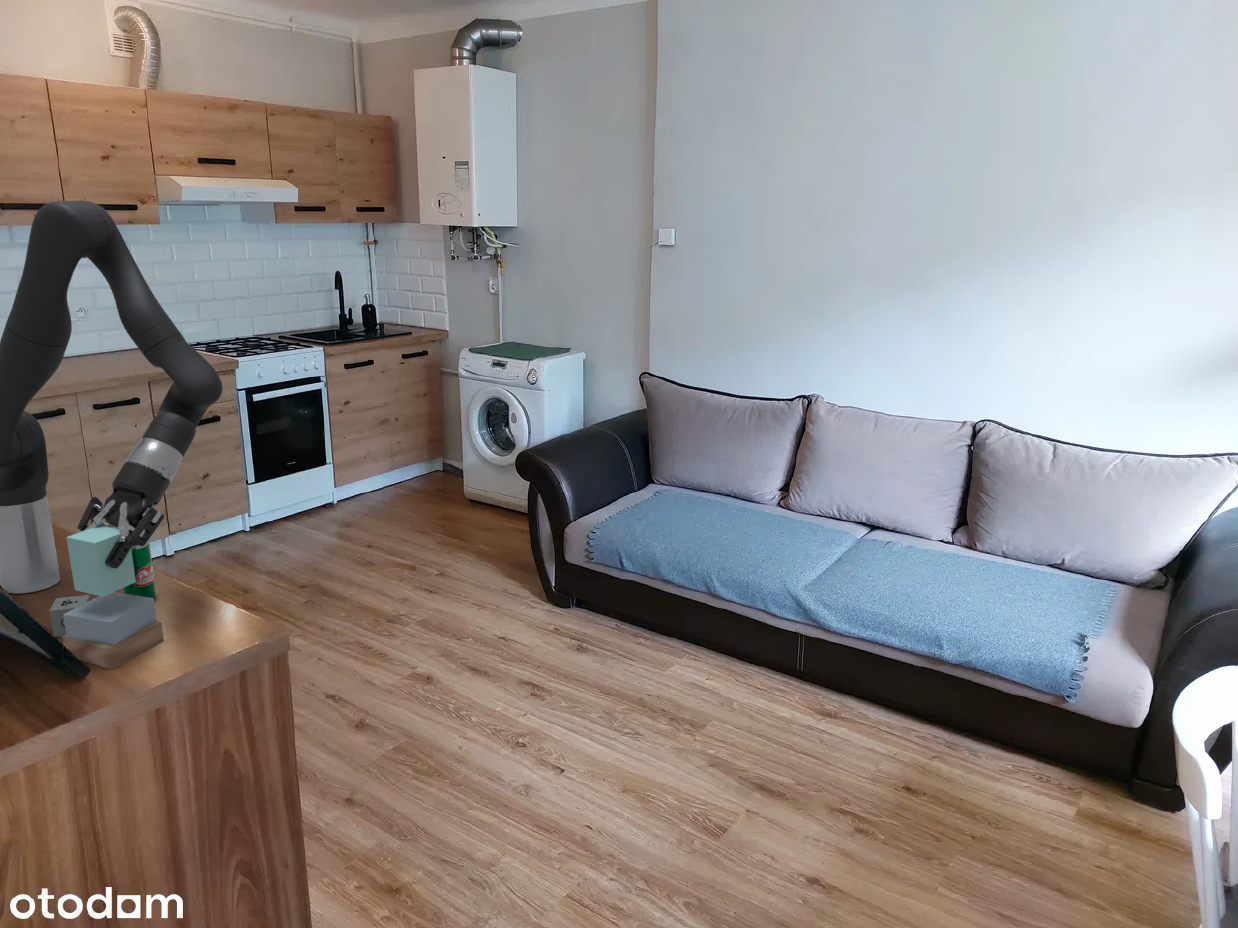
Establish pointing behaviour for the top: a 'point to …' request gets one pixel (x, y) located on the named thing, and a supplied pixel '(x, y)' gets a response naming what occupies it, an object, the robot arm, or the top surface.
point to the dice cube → (64, 611)
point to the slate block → (110, 618)
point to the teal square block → (98, 562)
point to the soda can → (142, 573)
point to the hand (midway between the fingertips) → (95, 562)
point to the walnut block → (116, 647)
